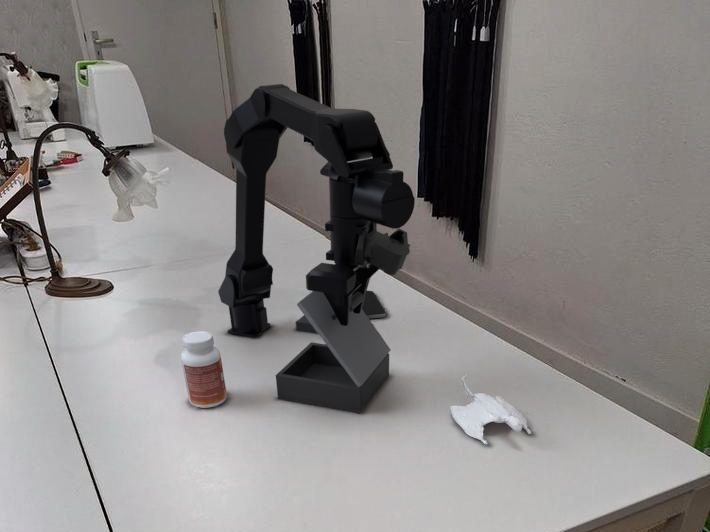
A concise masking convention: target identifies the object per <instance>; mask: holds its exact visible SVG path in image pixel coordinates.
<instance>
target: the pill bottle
mask: <svg viewBox="0 0 710 532" xmlns="http://www.w3.org/2000/svg"><path fill="white" fill-rule="evenodd" d="M182 347H183V348H184V350H183V351H182V352H181V354H180V360H181V365H182V370H183V376H184V382H185V387H186V392H187V396H188V400H189V403H190V404H191V405H192V406H194V407H196V408H202V409H207V408H208V409H209V408H214V407H217V406H220V405H221V404H223V403H224V402H225V401H226V400H227V397H228V394H227V393H228V392H227V388H226V387H227V386H226V380H225V374H224V368H223V361H222V355H221V352H220V350H219V348H218V347H217V346H215V340H214V335H213V334H212V333H211V332H209V331H206V330H205V331H204V330H203V331H202V330H200V331H199V330H198V331H193V332H189V333H186V334H185V335H183V336H182Z"/></svg>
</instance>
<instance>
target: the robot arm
mask: <svg viewBox="0 0 710 532" xmlns="http://www.w3.org/2000/svg"><path fill="white" fill-rule="evenodd" d="M287 129H290V130H292V131H294V132H296V133H298V134H300V135H302V136H304V137H305V138H307V139H309V140H310V141H312V142H313V147H314V150H315V151H316V153H318V154H319V155H320V156H321V157H322V158H324V159H325V160H326V161H327V162H326V163H325V164H324V165H323V166H322V167H321V169H320V170H319V173H320V175H321V176H324V177H328V191H329V220H328V221H326V222H325V223H324V231H325V232H329V233H330V235H329V237H330V249H329V250H327V251H326V252H325V261H332V262H333V263H327V262H320V263H319V264H317V265H316V266H314V268H312V269H310V271H309V272H308V273H307V274H306V275H305V287H306V290H307V291H309V292H310V291H311V292H312V291H317V292H323V293H324V295H325V297H326V298H327V300H328V301H329V303H330V305H331V307H332V309H333V311H334V313H335V315H336V317H337V319H338V320H339V322H340V324H341V325H344V326H347V325H348V322H349V316H350V308H351V300H352V296H353V295H354V294H355V293H356V292H361V293H362V294H363V295H364V298H365V295H366V291H368V287H369V284H370V281H371V278H372V277H373V276H374V275H375V274H376V273H377V272H378V271H379V270H382V271H383V273H384V274H386V275H390V276H395V275H396V274H397V273H398V272H399V271H400V270H401V269H403V266H404V263H405V261H406V259H407V256H408V255H409V254H410V253H411V249H410V246H411V244H410V243H409V239H408V232H407V231H406V230H404V229H402V227H404V226H405V225H406V224H407V223H408V222H409V221H410V219H411V217H412V215H413V213H414V210H415V202H416V198H415V196H414V192H413V189H412V187H411V186H410V185H409V184H408V183H407V182H405V181H404V173H405V172H404V171H403V170H400V169H394V170H393V168H394V164H393V161H392V158H391V154H390V152H389V150H388V148H387V145H386V144H385V141H384V139H383V136H382V133H381V132H380V128H379V126H378V124H377V122H376V117H375V116H374V115H373V114H372V113H371V112H370V111H368V110H365V109H357V108H333V107H330V106H328V105H326V104H323V103H321V102H319V101H316V100H315V99H312V98H311V97H308V96H306V95H303V94H301V93H299V92H296V91H295V90H292V89H291V88H290V87H289V86H287V85H285V84H284V83H277V84H265V85H259V86H258V87H256V88H255V89H254V90H253V92H252V93H251V95H250V97H249V98H247V99H246V100H245V101H244V102H242V103H241V104H239V106H237V107H236V108H235V109H234V110H233V111H232V112H231V113H230V116H229V118H227V119H225V123H224V127H223V136H224V141H225V148H226V149H225V151H226V153H227V155H228V157H229V159H230V160H231V162H232V164H233V165H234V167H235V175H236V176H235V248H234V251H232V254H231V255H230V257H229V258H228V260H227V261H226V265H225V274H224V279H223V280H222V283H221V284H220V287H219V289H218V292H217V293H218V296H219V299H220V302H221V303H222V304H224V305H226V306H228V311H229V318H230V326H231V327H230V328H229V329H228V330H227V334H228V335H235V336H243V337H249V338H257V337H258V336H260V335H261V334H262V333H263V332H265V331H266V330H267V329H269V328H270V327H271V323H270V322H269V321H268V313H267V307H266V306H265V302H264V301H265V299H270V298H271V292H272V285H274V283H273V272H274V268H273V266H272V264H270V263H269V261H268V260H267V257H266V256H265V255H264V233H265V211H266V210H265V209H266V189H267V188H266V186H267V175H268V172H269V171H270V169H271V167H272V166H273V164H274V162H275V161H276V158H277V156H278V152H279V151H278V150H279V144H280V139H281V138H282V136H283V135H284V133H285V132H286V130H287ZM378 225H380V226H384V227H385V228H389V229H394V230H395V231H393V233H391V234H389V233H388V232H385V233H382V232H380V231H378V228H377V226H378ZM363 302H364V299H363V301H362V302H361V303H360V304H359V305H358V306H357V307H355V308H354V309H353V312H354V313H357V314H359V313H360V312H361V309H362V306H363Z"/></svg>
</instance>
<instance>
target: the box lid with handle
mask: <svg viewBox="0 0 710 532" xmlns="http://www.w3.org/2000/svg"><path fill="white" fill-rule="evenodd" d="M363 299H364V295H363V294H362V293H361V292H356V293H355V294H354V295H353V296H352V300H351V308H350V316H349V322H348V325H347V326H344V325H341V324H340V322H339V320H338V319H337V317H336V315H335V313H334V311H333V309H332V307H331V305H330V303H329V301H328V300H327V298H326V297H325V295H324V293H323V292H317V291H311V292H309V293H308V294H307V295H306V296H305V297H304V298H302V299H301V300H300V301H298V302H297V303H296V306H297V307H298V309H299V310H300V312H301V313H302V315H303V316H304V315H305V317H306V318H307V319H308V321H309V322H310V323H311V325H312V326H313V327H314V329H315V330H316V331H317V333H316V334H318V335H319V337H320V338H321V340H322V341H323V343H324V344H326V345H327V346H328V347H329V349H330V350H331V351H332V353H333V354H334V356H335V357H336V358H337V360H338V361H339V362H340V364H341V365H342V366H343V368H344V369H345V370H346V372H347V373H348V374H349V376H350V377H351V378H352V380H353V381H354V382H355V384H356V385H357V386H358V387H360V386H362V384H363V383H364V382H365V381H366V380H367V378H368V377H369V376H370V375H371V374H372V372H373V371H374V370H375V369H376V368H377V366H378V365H379V364H380V363H381V361H382V360H383V359H384V358H385V357H386V355H387V354H390V352H391V351H392V349H391V348H390V346H389V345H388V344H387V342H386V341H385V339H384V338H383V337H382V335H381V333H380V332H379V331H378V330H377V328H376V327H375V325H374V324H373V323H372V321H371V320H370V319H369V318H368V317H367V316H366V314H365V313H364V311H363V310H362V309H361V312H360V313H359V314H357V313H354V312H353V309H354V308H355V307H357V306H358V305H359V304H360V303H361V302H362V301H363Z"/></svg>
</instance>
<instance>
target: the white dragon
mask: <svg viewBox="0 0 710 532" xmlns="http://www.w3.org/2000/svg"><path fill="white" fill-rule="evenodd" d="M466 377H467V374H465V375H462V376H460V377H459V379H460V382H461V384H462V388H464V390H465V393H466V394H467V397H468V398H469V399H472V400H473V401H471V402H470V403H467V405H465V406H464V405H451V406H450V414H451V416H452V419H453V420H454V421H455V422H456V423H457V424H458V425H459V427H461V429H463V431H464V432H465V434H466V435H468V436H470V437H471V438H475V439H477V440H479V441H481V442H482V443H483V445H485V446H488V441H487V440H486V439H484V430H485V428H484V426H485V425H487V424H490V423H496V424H503V423H505V424H507V425H508V427H510V428H511V429H512V430H513V431H514V432H521V431H522V430H523V429H524V430H525V431H526V433H527V434H528V435H532V431H531V430H530V429H529V428H528V420H527V419H526V418H525V416H523V415H522V413H521V412H520V411H518V410H517V409H516V408H515V407H514V405H512V404H510V403H508V402H507V401H506V400H505V399H503V398H502V397H501V396H499V395H496V396H495V398H494V397H493V396H490V395H488V394H487V393H483V392H478V393H473V392H471V390H470V389H469V387H468V386H467V385H466V382H465V380H466Z"/></svg>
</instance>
